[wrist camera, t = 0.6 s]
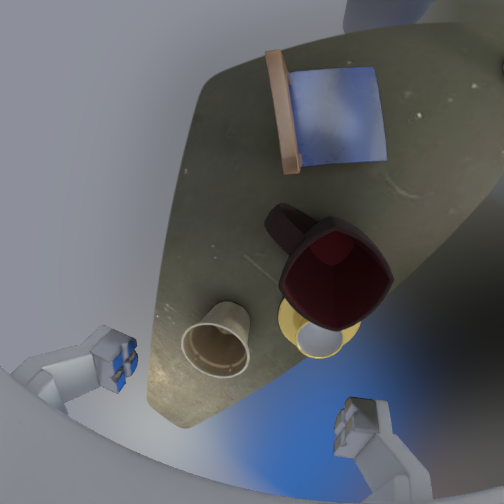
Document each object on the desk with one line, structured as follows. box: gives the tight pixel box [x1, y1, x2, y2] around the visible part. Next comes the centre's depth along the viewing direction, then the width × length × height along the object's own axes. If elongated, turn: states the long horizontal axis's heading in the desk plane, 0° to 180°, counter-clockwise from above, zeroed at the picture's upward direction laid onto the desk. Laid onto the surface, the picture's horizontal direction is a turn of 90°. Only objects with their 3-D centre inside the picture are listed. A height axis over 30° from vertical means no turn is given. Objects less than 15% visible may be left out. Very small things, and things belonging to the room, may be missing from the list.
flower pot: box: [181, 302, 250, 378], centre depth 42 cm, size 9×9×9 cm
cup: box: [278, 298, 361, 359], centre depth 39 cm, size 12×12×5 cm
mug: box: [265, 203, 394, 332], centre depth 33 cm, size 10×14×12 cm
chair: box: [265, 50, 388, 175], centre depth 26 cm, size 10×10×15 cm
